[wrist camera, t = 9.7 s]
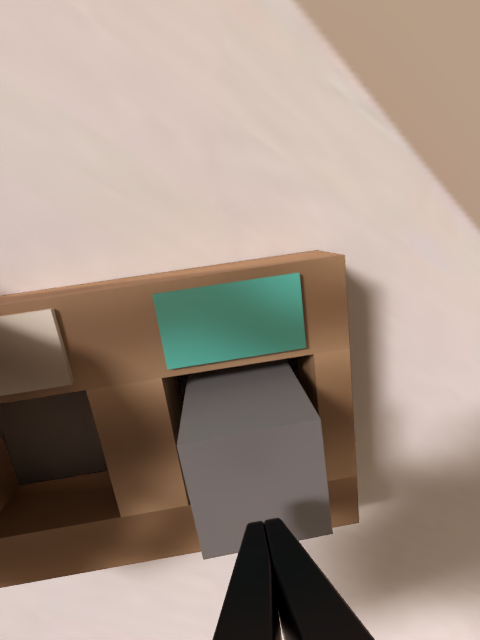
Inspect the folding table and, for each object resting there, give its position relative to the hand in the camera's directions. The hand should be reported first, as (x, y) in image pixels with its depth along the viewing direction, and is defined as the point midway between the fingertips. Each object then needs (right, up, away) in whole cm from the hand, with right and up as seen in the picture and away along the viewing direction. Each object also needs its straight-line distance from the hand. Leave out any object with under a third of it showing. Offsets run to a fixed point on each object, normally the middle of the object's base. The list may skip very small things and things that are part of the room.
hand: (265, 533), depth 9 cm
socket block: (-5, +1, +7) cm, 8 cm away
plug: (-1, +2, +7) cm, 7 cm away
